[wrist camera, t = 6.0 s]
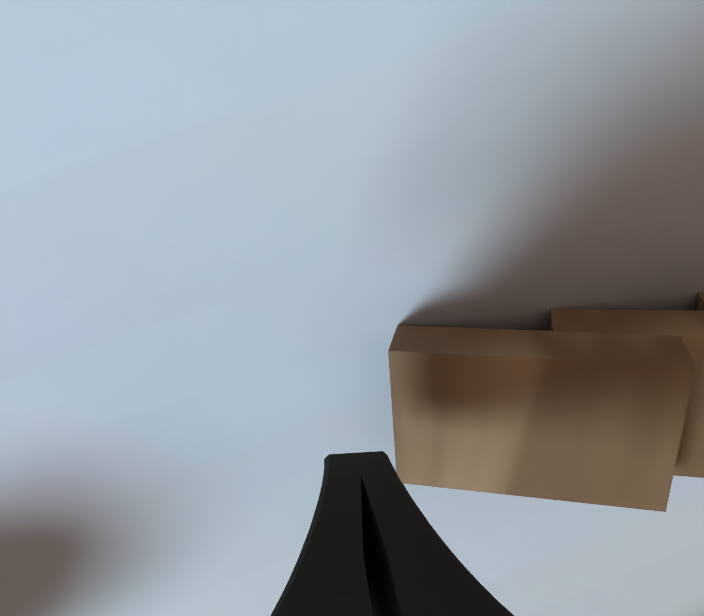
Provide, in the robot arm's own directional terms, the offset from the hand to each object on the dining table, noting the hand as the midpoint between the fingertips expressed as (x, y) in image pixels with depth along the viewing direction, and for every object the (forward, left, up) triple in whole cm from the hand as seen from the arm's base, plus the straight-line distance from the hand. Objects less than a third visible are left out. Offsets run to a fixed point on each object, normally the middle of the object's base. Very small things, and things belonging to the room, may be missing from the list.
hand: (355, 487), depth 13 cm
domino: (-1, -1, -3) cm, 4 cm away
